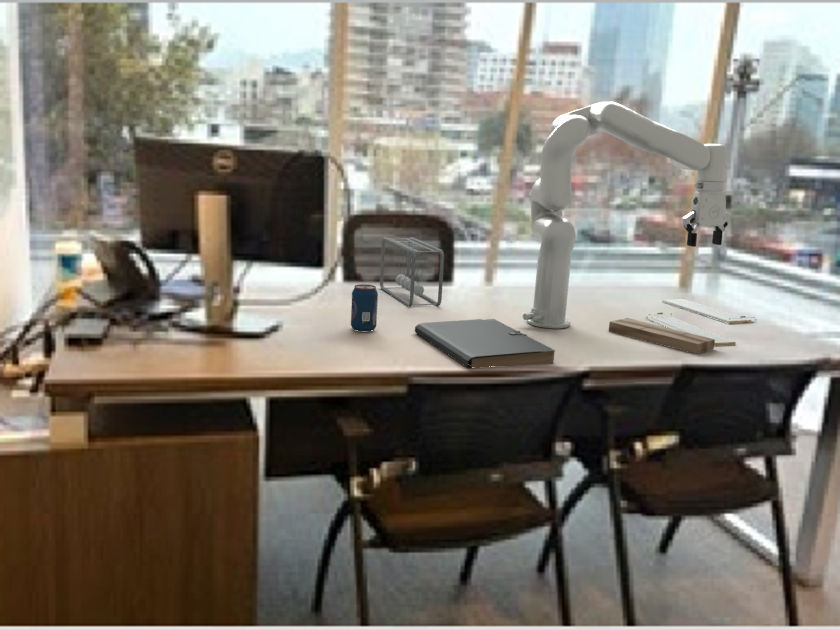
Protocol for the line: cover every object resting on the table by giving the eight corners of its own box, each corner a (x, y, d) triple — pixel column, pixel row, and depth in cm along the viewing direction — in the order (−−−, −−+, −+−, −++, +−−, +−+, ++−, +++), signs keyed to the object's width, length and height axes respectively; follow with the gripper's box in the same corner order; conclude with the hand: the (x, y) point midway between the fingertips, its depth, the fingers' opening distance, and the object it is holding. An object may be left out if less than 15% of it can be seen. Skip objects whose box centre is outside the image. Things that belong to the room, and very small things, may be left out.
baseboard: (705, 348, 235) (735, 347, 239) (706, 338, 235) (736, 337, 238) (643, 321, 263) (671, 321, 266) (644, 312, 262) (672, 312, 266)
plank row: (696, 354, 226) (697, 343, 225) (608, 331, 246) (609, 321, 245) (713, 349, 232) (715, 339, 231) (626, 327, 252) (627, 317, 251)
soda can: (349, 326, 234) (350, 283, 231) (374, 326, 235) (376, 284, 233) (352, 332, 227) (354, 288, 225) (378, 333, 229) (380, 289, 226)
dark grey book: (556, 349, 209) (468, 355, 200) (555, 365, 210) (467, 372, 201) (494, 317, 239) (415, 322, 230) (493, 331, 240) (414, 336, 231)
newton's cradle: (379, 288, 287) (381, 236, 283) (408, 287, 291) (410, 236, 287) (409, 308, 260) (413, 251, 256) (441, 307, 264) (445, 250, 260)
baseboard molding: (689, 302, 296) (661, 304, 291) (690, 294, 296) (662, 295, 291) (757, 324, 269) (728, 326, 264) (758, 315, 268) (729, 317, 263)
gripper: (695, 188, 241) (690, 248, 245) (741, 187, 248) (735, 245, 252) (677, 186, 247) (672, 244, 252) (722, 185, 255) (717, 242, 259)
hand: (704, 245), depth 252 cm, fingers open, 9 cm apart
